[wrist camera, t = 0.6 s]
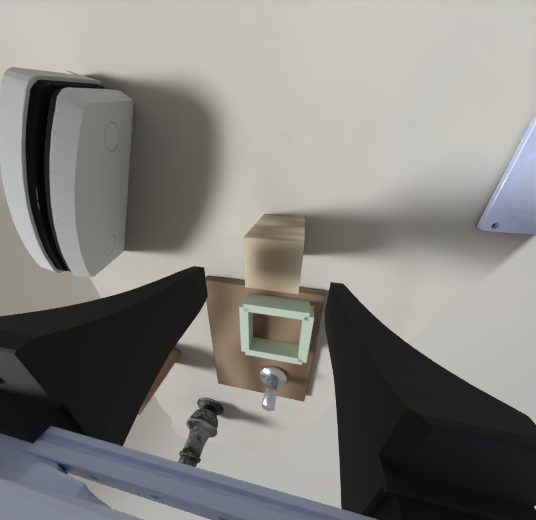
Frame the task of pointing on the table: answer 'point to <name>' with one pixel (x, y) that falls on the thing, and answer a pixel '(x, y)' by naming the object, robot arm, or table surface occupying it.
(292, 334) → the walnut board
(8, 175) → the white rounded block
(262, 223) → the maple peg
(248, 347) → the socket collar
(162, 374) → the wooden block
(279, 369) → the metal post
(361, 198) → the table surface
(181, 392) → the table surface
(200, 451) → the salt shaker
